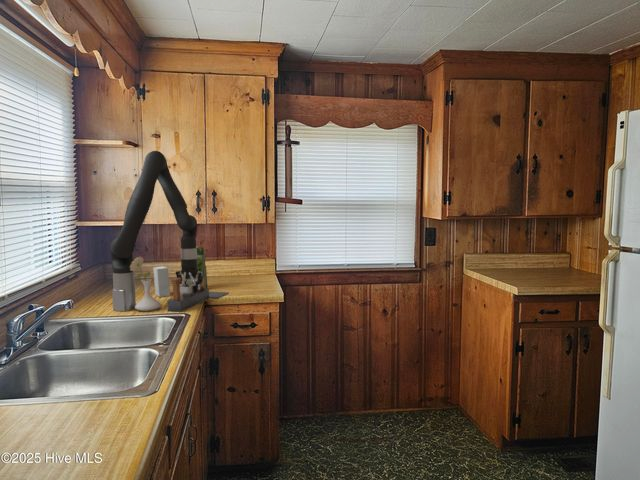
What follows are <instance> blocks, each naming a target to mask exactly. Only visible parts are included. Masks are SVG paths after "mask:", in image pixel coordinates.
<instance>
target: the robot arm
mask: <svg viewBox="0 0 640 480" xmlns="http://www.w3.org/2000/svg"><path fill="white" fill-rule="evenodd" d="M141 169H142V170H141V173H140V175H139V178H138V180H137V182H136V184H135V187H134V189H133V191H132V193H131V196H130V198H129V200H128V202H127V206H126V208H125V209H126V210H125V213H124V220H123V223H122V227H121V230H120V232H119V233H118V236H117V237H116V238H114V239H113V240H112V242H111V243H110V260H111V267H112V268H111V269H112V282H113V283H112V285H113V289H112V290H111V291H112V292H111V293H112V296H111V297H112V309H113V311H115V312H116V311H117V312H126V311H132V310H136V308H135V305H136V304H137V299H136V297H137V295H136V279H135V277H136V276H135V275H136V274H135V271H131V270H130V269H131V268H130V265H131V264H132V262H133V261H134V258H133V254H134V251H135V247H136V244H137V243H136V242H137V239H138V236H139V232H140V230H141V228H142V225H143V224H144V222H145V219H146V217H147V215H148V212H149V210H150V208H151V205H152V202H153V198H154V193H155V189H156V183H157V181H158V183H159V184H160V186H161V189H162V191H163V193H164V196H165V198H166V200H167V202H168V205H169V206H170V208H171V210H172V212H173V215H174V218H175V221H176V224H177V226H178V227H179V229H180V230H182V236H181V237H180V265H181V266H180V267H181V270H177V271H176V272H175V274H176V275H175V276H176V278H182V282H181V283H180V285H181V286H183V285H184V284H187V280H188V279H191V281H192V282H193V284H194V286H193V287H194V293H195V294H196V293H197V292H198V285H199V284H201V283H202V279H203V274H204V273H203V272H199V271H198V270H197V250H196V246H197V235H198V234H197V232H198V220H197V218H196V217H195V216H194V215H190V214H189V211H188V204H187V203H186V200H185V197H183V195H182V192H181V191H180V188H178V185H177V184H176V183H175V181H174V178H173V177H172V174H171V172H170V169H169V165H168V162H167V158H166V157H165V154H163V153H162V152H161V151H158V150H151V151H150V152H148V153H147V154H146V155H145V157H144V162H143V166H142V168H141ZM197 274H198V280H197V276H196V275H197Z"/></svg>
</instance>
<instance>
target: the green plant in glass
mask: <svg viewBox="0 0 640 480" xmlns="http://www.w3.org/2000/svg"><path fill="white" fill-rule="evenodd" d="M196 250H197V270H198V271H199V272H203V273H204V274H203V279H202V281H204V289H208V276H207V275H208V274H207V273H208V272H207V266H206V253H205V248H204V246H203V245H196ZM196 276H197V280H198V274H197V275H196ZM187 283H193V282H192V281H191V279H188V280H187ZM187 283H186V284H187Z"/></svg>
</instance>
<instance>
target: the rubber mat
mask: <svg viewBox="0 0 640 480" xmlns="http://www.w3.org/2000/svg"><path fill="white" fill-rule="evenodd" d="M228 293H229V292H225V291H224V292H223V291H210V290H209V299H216V300H217V299H218V300H219V299H220V298H223V297H224V295H225V296H227V295H229V294H228ZM226 294H227V295H226ZM222 296H223V297H222Z"/></svg>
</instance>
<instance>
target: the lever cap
mask: <svg viewBox="0 0 640 480" xmlns="http://www.w3.org/2000/svg"><path fill="white" fill-rule="evenodd" d="M193 286H194V284H193V283H186V284H184V285H183V286H182V285H180V294H182V293H188V294H189V293H192V292H194V287H193ZM199 289H200V284H199V285H198V290H199Z"/></svg>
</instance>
